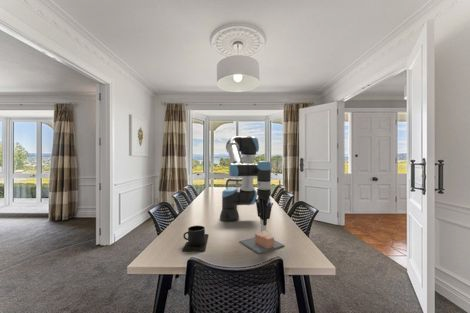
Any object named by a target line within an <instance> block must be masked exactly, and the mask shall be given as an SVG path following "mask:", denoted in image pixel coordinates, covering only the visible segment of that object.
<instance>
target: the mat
mask: <svg viewBox="0 0 470 313" xmlns="http://www.w3.org/2000/svg"><path fill="white" fill-rule="evenodd" d="M239 243H240V244H242V246H244V247H246V248H247V249H250V250H251V251H252V252H255V254H258V255H261V254H264V253H265V254H266V253H267V252H271V251H274V250H277V249H282V248H284V247H285V244H283V243H281V242H279V241H277V240H276V239H274V247H271V248H268V249H266V248H265V247H263V246H261V245H259V244H257V243H255V236H253V237H250V238H245V239H242V240H239Z"/></svg>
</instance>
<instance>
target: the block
mask: <svg viewBox="0 0 470 313" xmlns="http://www.w3.org/2000/svg"><path fill="white" fill-rule="evenodd" d="M254 237H255V243H257V244H259V245H261V246H263V247H265V248H266V249H268V248H271V247H274V240H275V238H274V236H271V235H270V234H267V233H265V232H264V231H261V232H256V233H255V234H254Z"/></svg>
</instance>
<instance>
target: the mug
mask: <svg viewBox="0 0 470 313" xmlns="http://www.w3.org/2000/svg"><path fill="white" fill-rule="evenodd" d="M205 234H206V227H205V226H202V225H192V226H189V227H188V228H187V231H185V232H184V233H183V239H184V240H185V241H187V242H188V245H189V246H191V247H200V246H202V245H204V244H205ZM186 235H187V236H186Z"/></svg>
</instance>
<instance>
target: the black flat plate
mask: <svg viewBox="0 0 470 313" xmlns="http://www.w3.org/2000/svg"><path fill="white" fill-rule="evenodd" d="M208 239H209V234H207V233H205V244H204V245H202V246H200V247H191V246H189V245H188V241H186V242H185V244H184V246H183V248H182V249H181V252H182V253H199V252H200V253H201V252H205V251H206V248H207V245H208Z"/></svg>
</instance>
